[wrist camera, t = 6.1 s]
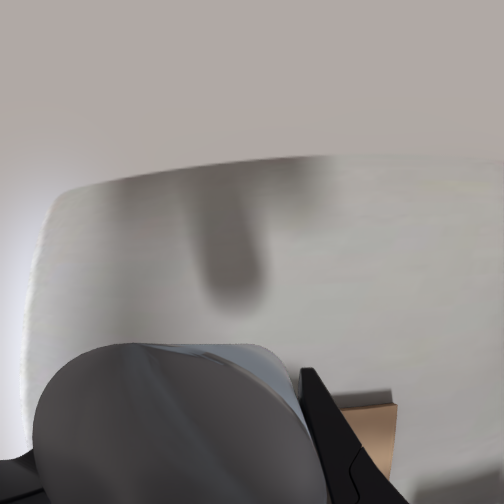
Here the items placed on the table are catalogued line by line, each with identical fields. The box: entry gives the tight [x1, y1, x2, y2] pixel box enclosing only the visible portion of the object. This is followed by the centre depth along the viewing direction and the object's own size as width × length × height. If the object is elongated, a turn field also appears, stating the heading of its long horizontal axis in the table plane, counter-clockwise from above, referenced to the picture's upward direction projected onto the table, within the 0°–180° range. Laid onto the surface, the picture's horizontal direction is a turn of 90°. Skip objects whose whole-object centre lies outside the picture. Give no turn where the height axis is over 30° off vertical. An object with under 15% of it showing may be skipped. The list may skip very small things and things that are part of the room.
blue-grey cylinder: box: [32, 343, 327, 504], centre depth 9 cm, size 5×5×13 cm
